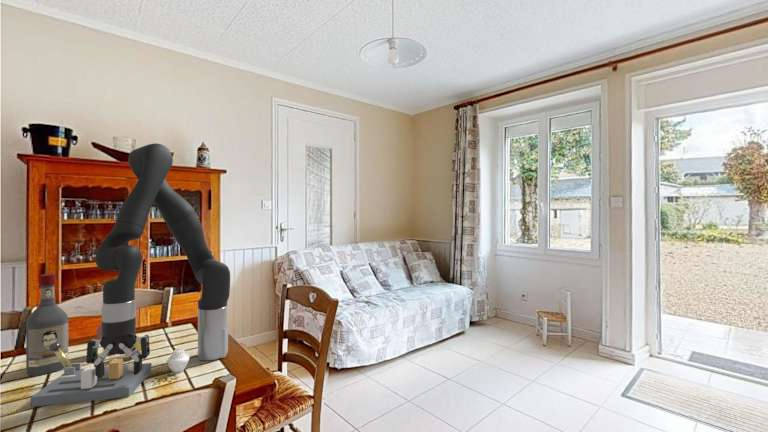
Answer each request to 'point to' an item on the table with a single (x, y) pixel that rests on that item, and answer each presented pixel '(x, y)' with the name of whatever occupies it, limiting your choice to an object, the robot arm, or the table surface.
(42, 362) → the liquor
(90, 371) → the grey slider
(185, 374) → the table surface
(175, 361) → the white egg shape
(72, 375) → the panel
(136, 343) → the lemon
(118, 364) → the orange slider
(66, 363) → the brass lever
